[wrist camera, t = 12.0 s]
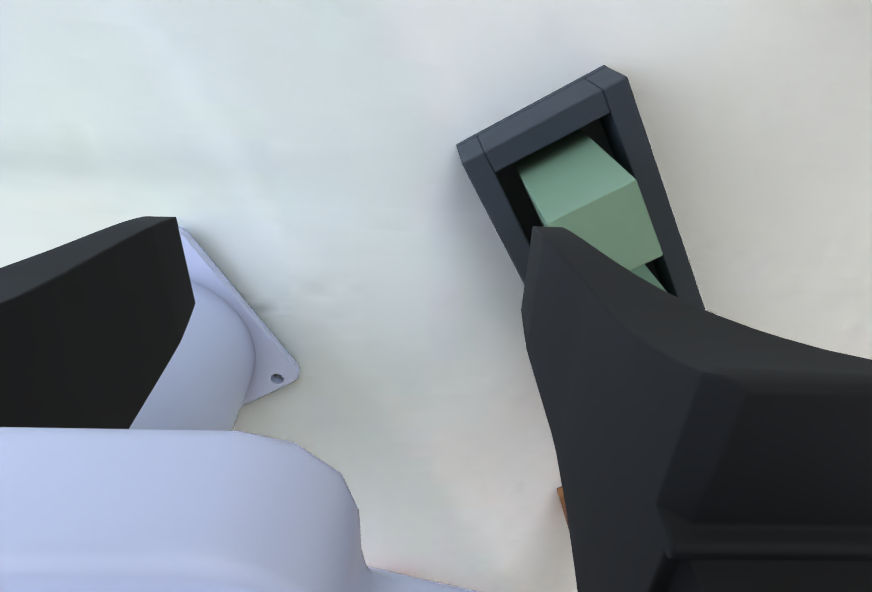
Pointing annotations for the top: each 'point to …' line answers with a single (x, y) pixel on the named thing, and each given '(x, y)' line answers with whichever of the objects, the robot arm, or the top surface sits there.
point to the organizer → (609, 128)
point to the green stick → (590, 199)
